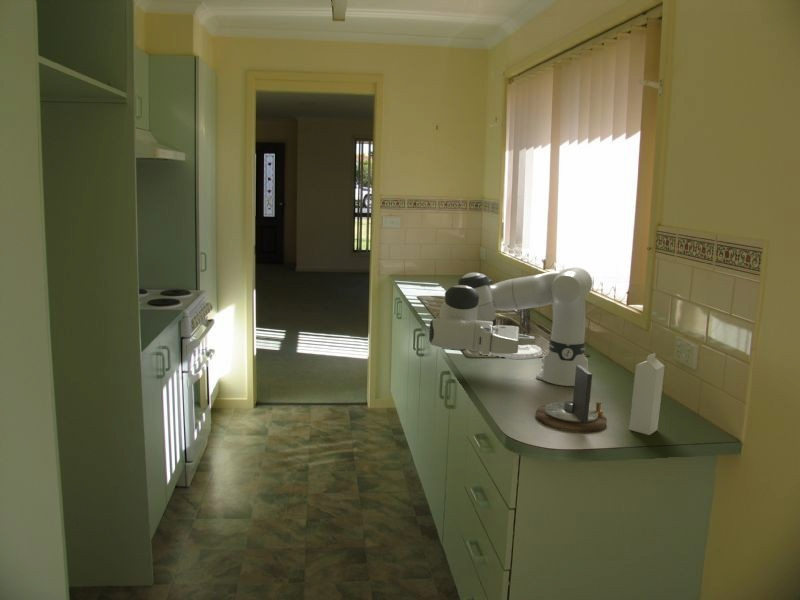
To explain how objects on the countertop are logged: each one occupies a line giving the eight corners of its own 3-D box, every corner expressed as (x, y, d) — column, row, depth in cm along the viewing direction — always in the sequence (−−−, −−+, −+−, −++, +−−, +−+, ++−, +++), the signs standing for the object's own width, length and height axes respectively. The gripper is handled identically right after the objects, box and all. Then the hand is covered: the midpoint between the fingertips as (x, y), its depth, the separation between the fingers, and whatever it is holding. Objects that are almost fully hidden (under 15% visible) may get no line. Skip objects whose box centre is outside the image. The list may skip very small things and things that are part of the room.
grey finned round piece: (538, 405, 216) (542, 356, 213) (591, 406, 218) (596, 357, 215) (558, 427, 197) (563, 373, 195) (616, 427, 200) (622, 374, 197)
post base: (535, 406, 221) (536, 390, 220) (602, 412, 218) (604, 396, 217) (535, 428, 201) (537, 410, 201) (609, 435, 198) (611, 418, 197)
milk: (657, 430, 205) (666, 354, 201) (649, 435, 200) (658, 358, 196) (636, 424, 208) (645, 350, 205) (628, 429, 204) (637, 353, 200)
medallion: (553, 357, 284) (554, 351, 284) (499, 363, 271) (499, 357, 271) (516, 343, 304) (516, 338, 304) (463, 348, 291) (463, 343, 291)
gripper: (486, 339, 214) (534, 343, 212) (482, 355, 194) (534, 360, 192) (488, 318, 213) (535, 322, 211) (484, 333, 193) (536, 337, 191)
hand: (535, 340), depth 201 cm, fingers closed
